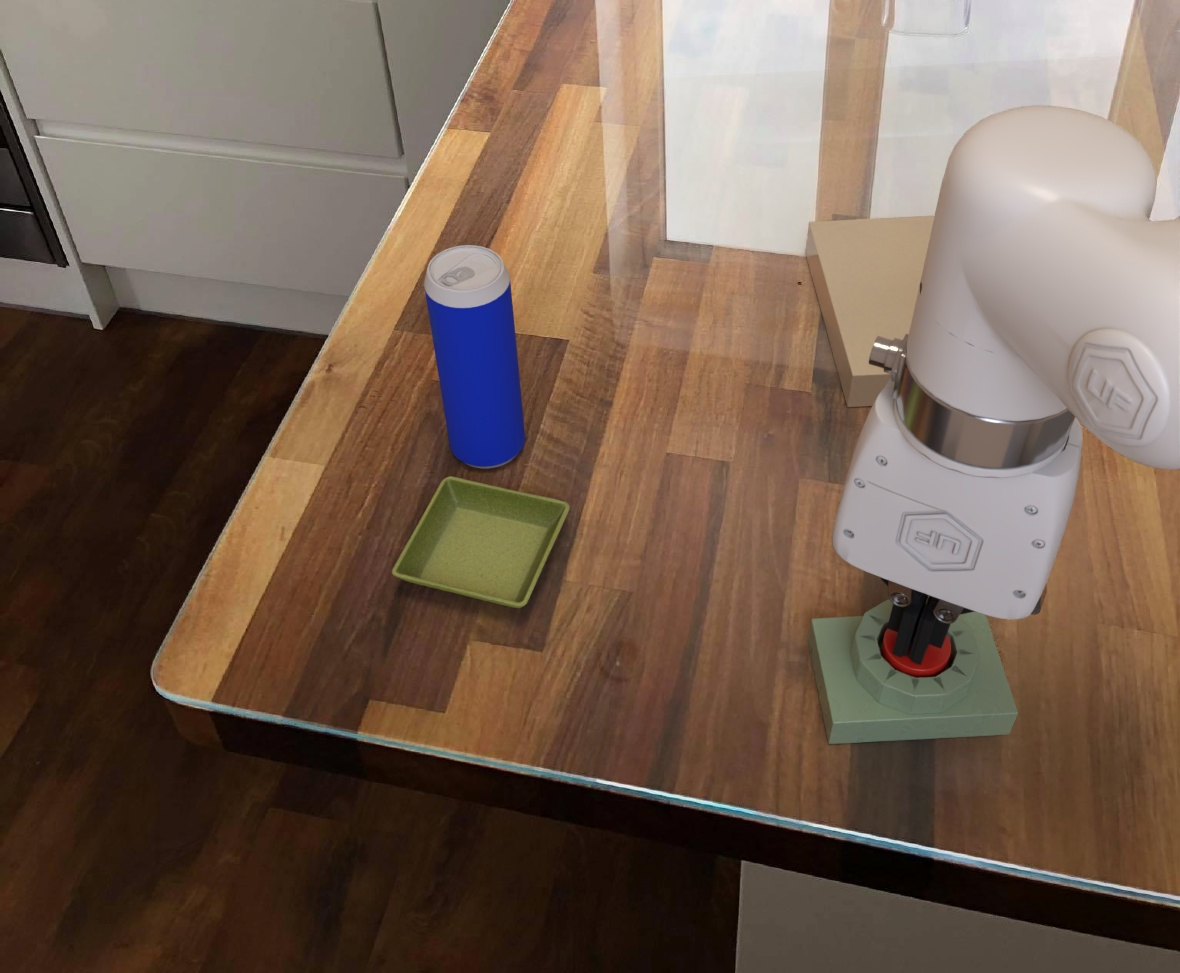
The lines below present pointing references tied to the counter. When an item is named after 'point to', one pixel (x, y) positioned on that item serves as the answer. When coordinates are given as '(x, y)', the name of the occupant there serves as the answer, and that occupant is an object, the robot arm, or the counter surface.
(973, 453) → the robot arm
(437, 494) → the green square tray
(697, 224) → the counter surface
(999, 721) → the green button base
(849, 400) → the panel
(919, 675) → the button
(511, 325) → the beverage can
